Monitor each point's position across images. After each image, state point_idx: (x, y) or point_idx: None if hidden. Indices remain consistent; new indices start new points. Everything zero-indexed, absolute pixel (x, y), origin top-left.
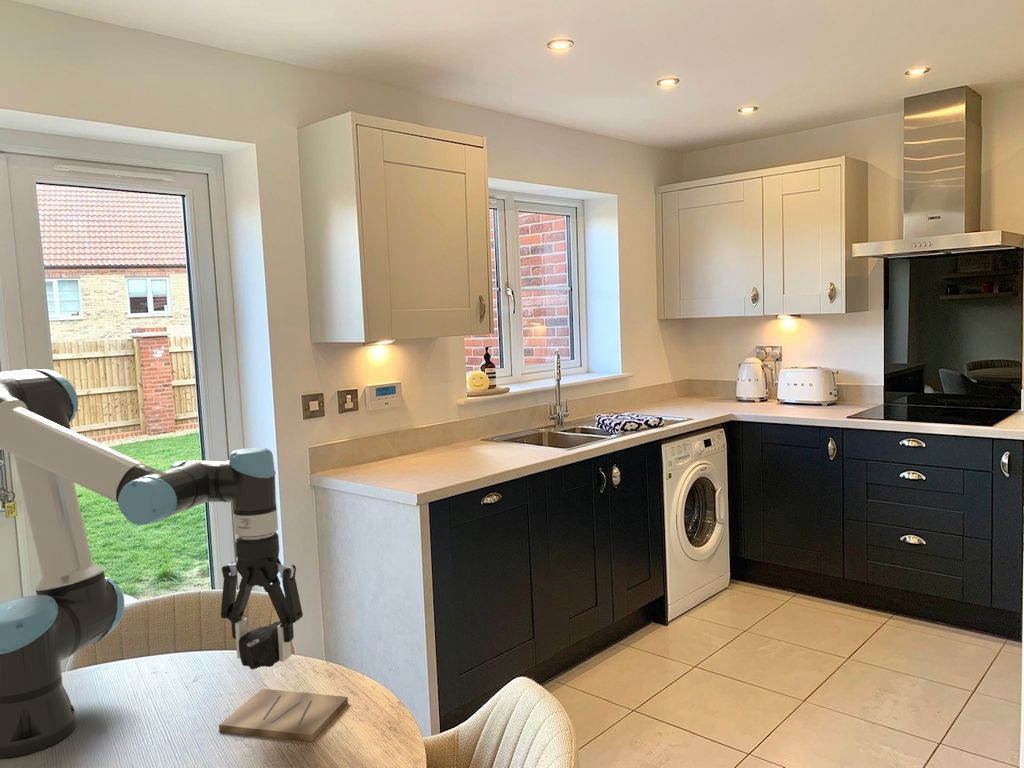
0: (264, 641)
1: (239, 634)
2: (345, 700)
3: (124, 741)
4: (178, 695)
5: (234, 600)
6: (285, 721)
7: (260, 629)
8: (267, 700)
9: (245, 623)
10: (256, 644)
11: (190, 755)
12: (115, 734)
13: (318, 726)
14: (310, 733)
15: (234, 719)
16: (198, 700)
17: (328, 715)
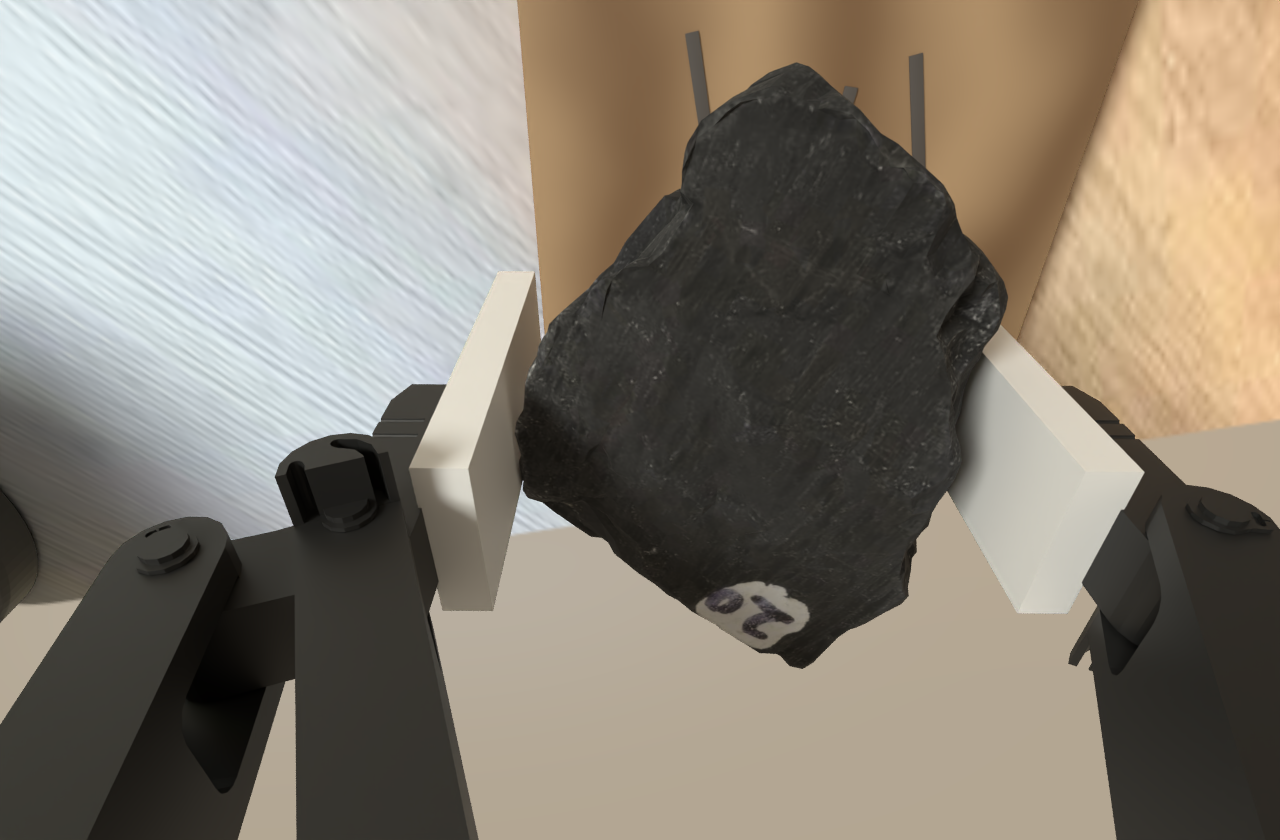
0: (868, 619)
1: (513, 517)
2: None
3: (246, 481)
4: (18, 71)
5: (151, 743)
6: None
7: (690, 421)
8: (643, 108)
9: (485, 469)
10: (807, 642)
11: None
12: (158, 451)
13: (1021, 311)
14: None
15: None
16: (195, 108)
17: (1056, 206)
